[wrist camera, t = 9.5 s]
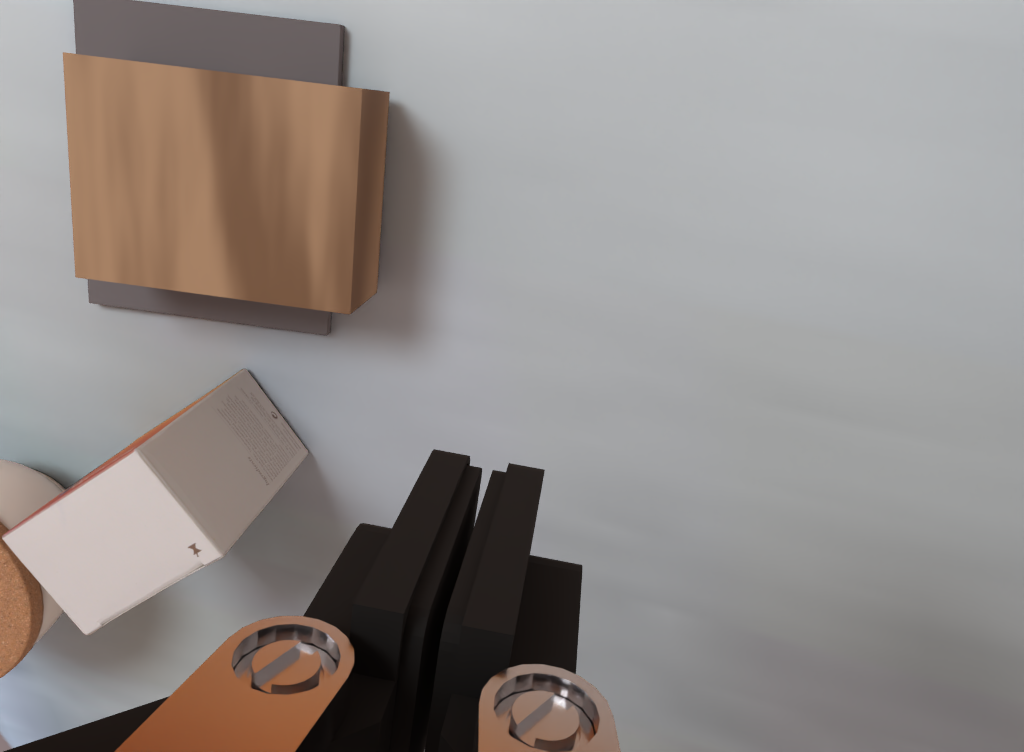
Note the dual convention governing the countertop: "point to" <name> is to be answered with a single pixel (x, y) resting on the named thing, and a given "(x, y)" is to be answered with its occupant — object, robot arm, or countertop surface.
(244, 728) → the robot arm
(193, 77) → the slab
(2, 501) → the lidded jar
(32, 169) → the countertop surface
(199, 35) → the mat
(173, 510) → the small box
